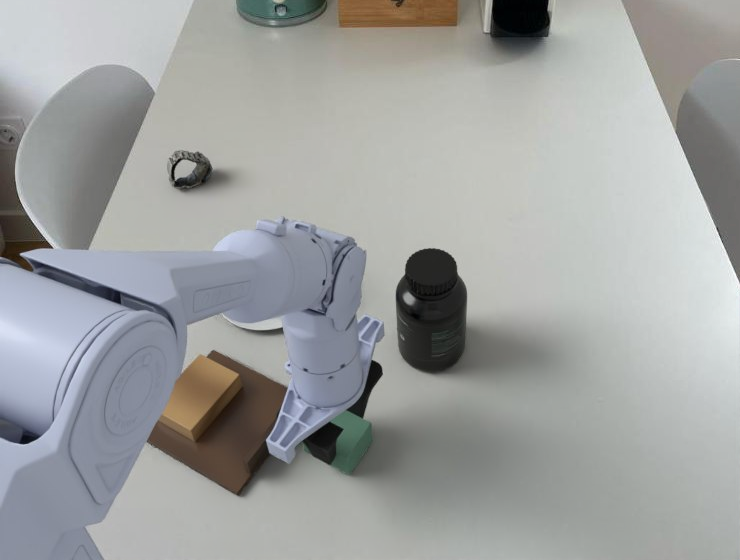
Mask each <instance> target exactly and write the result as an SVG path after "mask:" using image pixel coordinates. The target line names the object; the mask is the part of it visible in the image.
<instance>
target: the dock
mask: <svg viewBox="0 0 740 560" xmlns="http://www.w3.org/2000/svg"><path fill="white" fill-rule="evenodd" d="M287 390H288V387H287V386H285V385H283V384H281V383H279V382H278V381H275V380H273V379H271V378H270V377H267V376H266V375H264V374H262V373H260V372H259V371H256V370H254V369H251V368H250V367H248V366H246V365H244V364H242V363H240V362H238V361H237V360H234V359H232V358H230V357H228V356H227V355H224V354H223V353H221V352H219V351H217V350H215V349H212V350H211V351H210V352H209V353H208V354H207V356H205V355H203V354H201V353H199V354H198V355H197V356H196V358H194V359H193V361H192V362H191V363H190V364H189V365H188V366H186V368H185V369H184V370H183V372H181V375H180V377H179V378H178V379H177V380H176V381H175V385H174V388H173V391H172V394H171V396H170V399H169V401H168V403H167V405H166V407H165V409H164V411H163V413H162V415H161V416H160V418H159V419H158V421H157V422H156V424H155V426H154V428H153V430H152V432H151V434H150V436H149V437H148V439H147V441H146V443H147V444H149V445H151V446H152V447H154V448H156V449H157V450H159V451H161V452H162V453H164V454H166V455H167V456H169V457H171V458H173V459H175V460H176V461H178V462H179V463H181V464H183V465H185V466H186V467H188V468H190V469H191V470H193V471H194V472H196V473H198V474H200V475H201V476H203V477H205V478H206V479H208V480H210V481H212V482H213V483H215V484H217V485H218V486H219V487H221V488H223V489H225V490H227V491H228V492H229V493H231V494H233V495H235V496H237V497H239V496H240V494H241V493H242V492H243V491H244V490H245V488H246V487H247V486H248V484H249V483H250V481H252V479H253V477H254V476H255V475H256V474H257V472H258V471H259V470H260V468H261V467H262V466H263V464H264V463H265V462H266V461H267V459H268V458H269V456H270V455H271V454H270V453H269V450H268V446H267V442H266V439H267V438H268V437H269V435H270V434H271V432H272V430H273V429H274V427H275V424H276V422H277V420H276V414H277V412H278V410H279V409H280V408H281V407H282V404H283V401H284V398H285V396H286V393H287Z"/></svg>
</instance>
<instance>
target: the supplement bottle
mask: <svg viewBox="0 0 740 560" xmlns="http://www.w3.org/2000/svg"><path fill="white" fill-rule="evenodd" d="M467 312H468V289H467V286H466V284H465V281H464V280H463V279H462V277H461V276H460V275H459V273H458V265H457V261H456V260H455V258H454V257H453V256H452V254H450V253H449V252H448V251H445V250H443V249H440V248H435V247H429V248H428V247H427V248H423V249H419V250H416V251H415V252H414V253H412V254H411V255H410V256H409V257H408V259H407V260H406V263H405V265H404V274H403V276H402V277H401V278H400V280H399V281H398V283H397V285H396V289H395V314H396V333H397V334H396V335H397V347H398V351H399V354H400V355H401V357H402V359H403V360H404V361H405V362H406V363H407V364H408V365H409V366H411V367H412V368H414V369H416V370H419V371H421V372H427V373H436V372H443V371H446V370H448V369H449V368H452V367H453V366H454V365H456V364H457V363H458V362H459V361H460V360H461V359H462V357H463V355H464V353H465V349H466V341H467V316H468V315H467Z"/></svg>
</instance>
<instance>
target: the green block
mask: <svg viewBox="0 0 740 560" xmlns="http://www.w3.org/2000/svg"><path fill="white" fill-rule="evenodd" d="M330 422H331V423H333V424H335V425H337V426H339V427H341V428H343V429H344V430H343V431H342V433H341V434H340V435H339V437H338V438H337V442H336V456H335V459H334V461H333V462H332V464H331V465H330V466H332V467H333V468H335V469H337V470H338V471H340V472H343V474H346V475H348V476H350V475H351V474H352V472H353V471H354V470H355V469H356V466H357V465H358V464H359V462H360V461H361V459H362V458H363V456H364V454H365V453H366V451H367V450H368V449H369V448H370V446H371V444H372V443H373V441H374V438H373V436H374V435H373V427H372V422H371V421H368V420H367V419H365V418H364V417H363V418H361V417H359V416H357V415H355V414H353V413H351V412H349V411H347V410H345V411H343V412H342V413H341V414H339V415H338V416H336V417H335V418H334V419H332V420H331V421H330ZM301 443H302V447H303V451H304V452H306V453H308V454H309V455H311V456H312V454H311V453H310V451H309V450H308V448H307V447H306V446H305V444H304V443H303V442H302V441H301Z"/></svg>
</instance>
